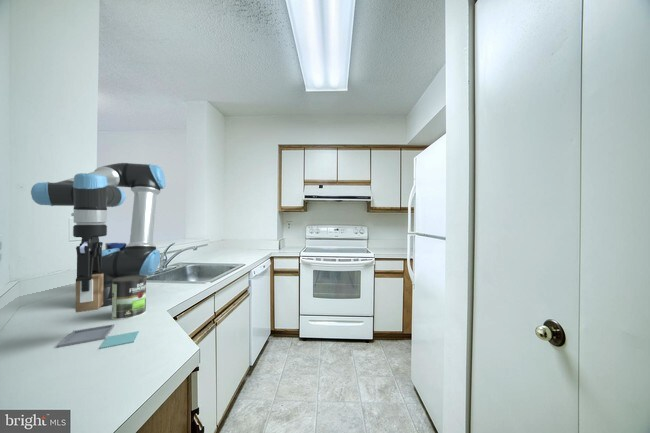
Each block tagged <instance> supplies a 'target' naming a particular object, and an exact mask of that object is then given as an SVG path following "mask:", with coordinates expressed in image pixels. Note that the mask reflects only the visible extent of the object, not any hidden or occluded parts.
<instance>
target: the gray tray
mask: <svg viewBox="0 0 650 433" xmlns="http://www.w3.org/2000/svg"><path fill="white" fill-rule="evenodd" d="M114 328H115V324H114V323H113V324H107V325H102V326H95V327H94V326H93V327H90V328H82V329H75V330H73V331H72V332H70V334H68V335H67V336H66V337H65V338H63V339H62V341H61V342H60V343H58V345H57V348H59V349H60V348H65V347H70V346H74V345H80V344H86V343H91V342H96V341H97V342H98V341H102V340H106V338H107V337H108V336H109V334H110V333H111V332H112V330H113V329H114Z"/></svg>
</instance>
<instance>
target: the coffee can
mask: <svg viewBox="0 0 650 433" xmlns="http://www.w3.org/2000/svg"><path fill="white" fill-rule="evenodd" d="M147 276H148V275H146V276H144V275H134V276H125V277H119V278H116V279H113V280H112V304H111V319H112V320H114V321H116V320H117V321H120V320H121V321H123V320H128V319H133V318H137V317H140V316H142V315H144V314H145V313H146V312H147V311H146V310H147V307H146V306H147Z"/></svg>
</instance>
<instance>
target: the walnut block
mask: <svg viewBox="0 0 650 433" xmlns="http://www.w3.org/2000/svg"><path fill="white" fill-rule="evenodd" d="M76 279H77V277H76V278H75V313H83V312H89V311H96V310H100V308H102V307H103V306H102V305H103V274H92V279H93V301H90V302H82V303H80V281H76ZM101 306H102V307H101Z"/></svg>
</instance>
